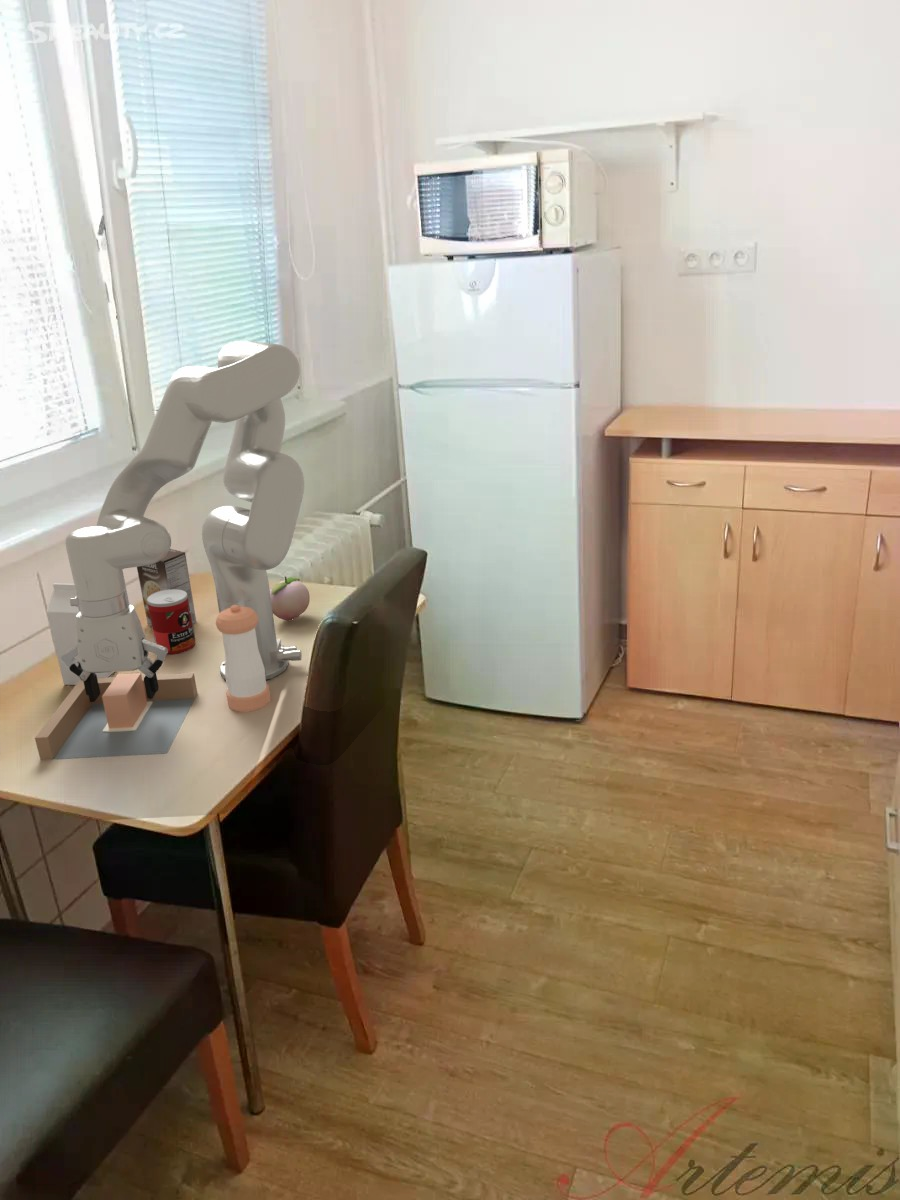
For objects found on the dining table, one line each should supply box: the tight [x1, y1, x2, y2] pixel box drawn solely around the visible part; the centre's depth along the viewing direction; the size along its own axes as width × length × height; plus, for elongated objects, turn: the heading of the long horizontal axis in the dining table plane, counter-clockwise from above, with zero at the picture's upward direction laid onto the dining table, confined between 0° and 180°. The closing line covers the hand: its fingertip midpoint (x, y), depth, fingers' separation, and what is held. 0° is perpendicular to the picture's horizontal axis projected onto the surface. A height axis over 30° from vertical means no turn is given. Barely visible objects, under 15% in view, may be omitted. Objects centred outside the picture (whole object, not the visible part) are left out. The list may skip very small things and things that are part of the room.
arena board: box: [34, 672, 198, 761], centre depth 153 cm, size 20×20×5 cm
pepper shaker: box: [215, 605, 271, 712], centre depth 156 cm, size 7×7×19 cm
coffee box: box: [136, 548, 197, 627], centre depth 193 cm, size 9×6×16 cm
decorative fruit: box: [270, 576, 311, 622], centre depth 192 cm, size 9×8×10 cm
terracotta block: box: [102, 672, 147, 728], centre depth 155 cm, size 8×4×6 cm, turn 1°
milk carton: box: [45, 583, 115, 686], centre depth 170 cm, size 7×7×19 cm
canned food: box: [147, 589, 196, 655], centre depth 183 cm, size 8×8×11 cm
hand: (123, 696), depth 155 cm, fingers open, 9 cm apart
